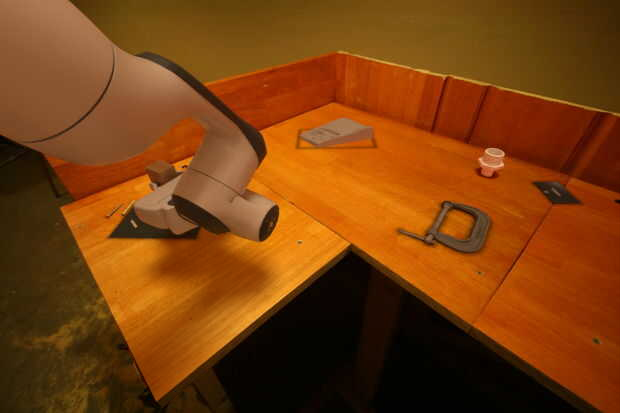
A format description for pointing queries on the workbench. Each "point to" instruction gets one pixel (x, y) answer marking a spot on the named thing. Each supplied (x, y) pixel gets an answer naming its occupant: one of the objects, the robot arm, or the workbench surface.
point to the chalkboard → (146, 229)
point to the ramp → (337, 133)
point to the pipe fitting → (491, 161)
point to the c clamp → (460, 245)
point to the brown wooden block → (161, 172)
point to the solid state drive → (556, 193)
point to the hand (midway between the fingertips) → (162, 179)
